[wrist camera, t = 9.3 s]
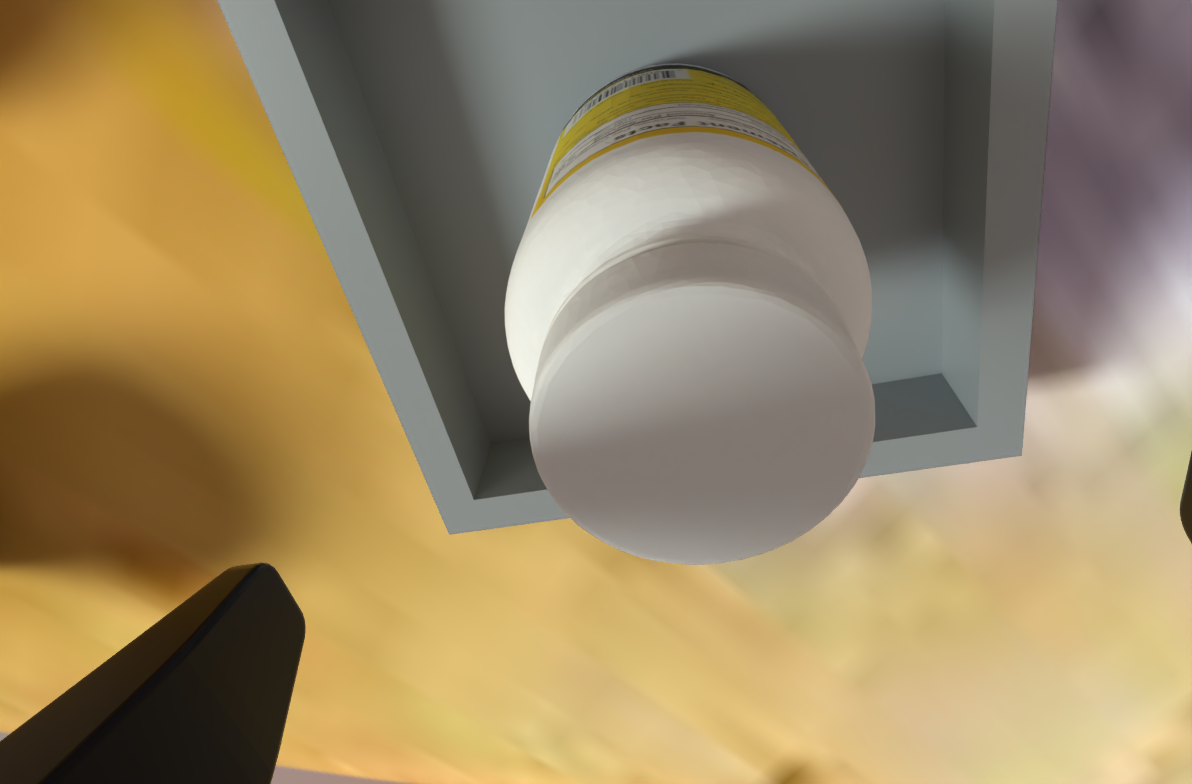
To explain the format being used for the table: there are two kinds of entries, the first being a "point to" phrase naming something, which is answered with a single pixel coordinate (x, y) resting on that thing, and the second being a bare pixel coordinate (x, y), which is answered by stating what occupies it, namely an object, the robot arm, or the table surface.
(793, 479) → the supplement bottle
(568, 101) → the slate tray
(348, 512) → the table surface
